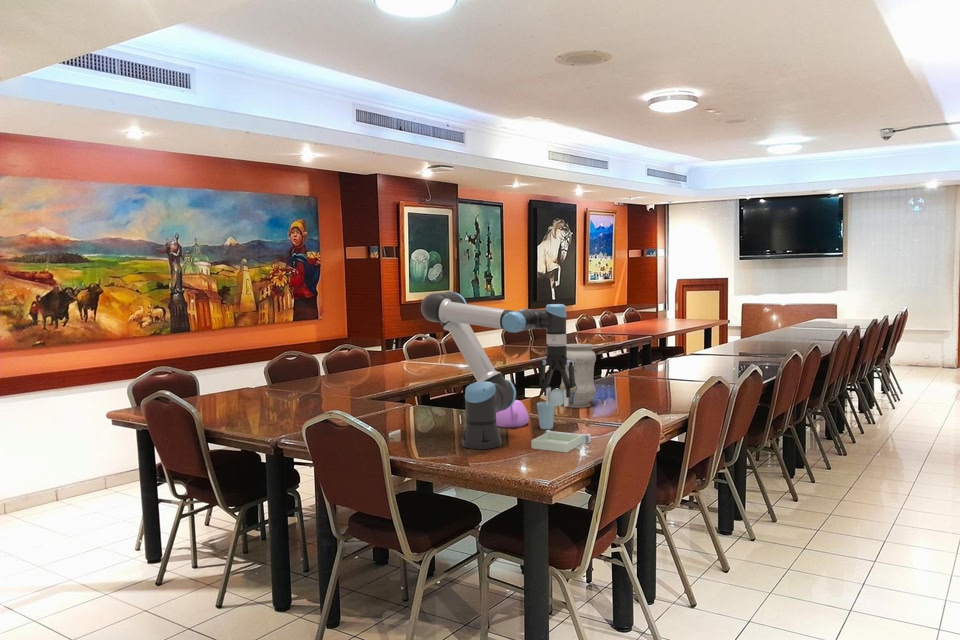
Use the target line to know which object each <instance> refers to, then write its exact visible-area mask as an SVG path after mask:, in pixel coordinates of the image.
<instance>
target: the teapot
mask: <svg viewBox="0 0 960 640" xmlns="http://www.w3.org/2000/svg"><path fill="white" fill-rule="evenodd" d="M529 420H530V417H529V413H528V410H527V408H526V406H525V404H524V403H523V402H522V401H521V400H518V399H515V401H514V403H513V404H512V405H511V406H510V407H509V408H507V409H506V410H502V411H499V412H497V413H496V424H497V427H499V428H505V429H508V428H509V429H510V428H511V429H512V428H513V429H514V428H522V427H525V426H526V425H527V424H528V423H529Z"/></svg>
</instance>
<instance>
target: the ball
mask: <svg viewBox="0 0 960 640" xmlns="http://www.w3.org/2000/svg"><path fill="white" fill-rule="evenodd" d="M549 401H550V403H551V404H552V405H554V406H555V407H560V406H562V405H564V392H563V391H562V390H560V388H554V389H551V392H550V394H549Z"/></svg>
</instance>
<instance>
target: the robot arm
mask: <svg viewBox="0 0 960 640" xmlns="http://www.w3.org/2000/svg"><path fill="white" fill-rule="evenodd" d="M420 305H421V306H420V310H421V314H422V316H423V317H424V318H425V320H426V321H428V322H433V323H440V325H441V326H442V327H441V328H443V330H444V331H448V332H449V333H450V335H451V338H453V341H454V343H455V344H456V346H457V347H458V350H459V351H460V353H461V355H462V357H463V358H464V360H465V363H466V364H467V365H468V368H469V369H470V372H471V373H472V375H473V376H474V378H475V381H476V382H473V383H470V384H469V385H467V386H466V387H465V389H464V392H465V394H464V399H465V400H464V401H465V403H464V404H465V406H464V407H465V427H464V431H463V436H462V438H461V445H462V447H464V448H466V449H470V450H486V449H488V450H489V449H494V448H498V447H500V446H502V445H503V444H502V436H501V433H500V430H499V428H498V427H499V426H497V424H496V413H497V412H499V411H502V410H506V409H507V408H509V407H510V406H511V405H512V404H513V403H514V401H515V400H517V399H516V398H517V390H516V387H515V385H514V384H513V382H511V381H510V380H508V379H505V377H504V375H503V374H502V372H500V371H497V370H496V369H495V367H494V365H493V363H492V362H491V360H490V358H489V356H488V354H487V353H486V351H485V350H484V348H483V346H482V344H481V342H480V341H479V339H478V337H477V335H476V334H475V332H474V330H473V328H472V325H473V326H474V325H475V326H480V327H484V328H485V327H486V328H493V329H499V330H505V331H506V332H508V333H514V334H515V333H519V332H525V331H529V330H537V329H538V330H546V333H545V334H546V358H545V359H541V360H539V361H538V362H539V367H540V368H539V382H538V385H539V387H542V388H543V395H544V397H545V398H546V401H545V402H546V405H550V404H551V403H550V401H549V394H550V392H551V391H552V387H551V386H550V384H551V381H552V378H553V374H554V371H555V370H557V371H559V373H560V376H561V380H562V379H563V382H564V385H565V389H564V404H563V407H566V406H568V398H569V397H570V396H571V391H570V390H571V388H573V387H575V376H574V364H575V362H574V361H569V360H568V359H567V346H566V345H565V344H568V342H567V340H568V339H567V317H568V315H567V309H566V305H565V304H563V303H561V304H560V303H556V304H555V303H551V304H546V306H545V309H535V308H534V309H533V308H524V309H521V308H520V309H519V310H513V309H512V310H511V309H505V308H504V309H503V308H497V307H490V306H484V305H483V306H482V305H475V304H470V303H469V304H468V303H467V301H466V299H465V298H464V296H463V295H461V294H460V293H459V292H458V293H457V292H453V291H446V292H436V293H435V292H434V293H430V294H428V295H427V296H425V297H424V298H423V300H422V302H421V304H420ZM566 363H567V364H568V366H569V367H568V370H569V379H568V376H567V373H566V369H565V365H566ZM546 365H547V366H548V368H547V367H546ZM546 369H547V374H546ZM569 380H570V382H569ZM566 408H567V407H566Z"/></svg>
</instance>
